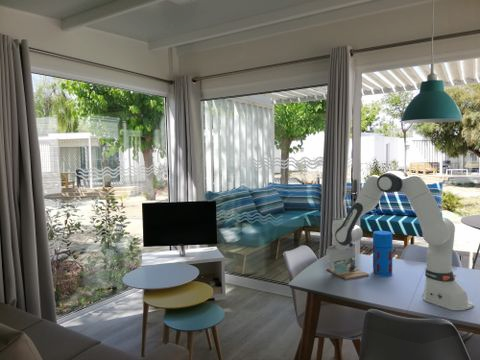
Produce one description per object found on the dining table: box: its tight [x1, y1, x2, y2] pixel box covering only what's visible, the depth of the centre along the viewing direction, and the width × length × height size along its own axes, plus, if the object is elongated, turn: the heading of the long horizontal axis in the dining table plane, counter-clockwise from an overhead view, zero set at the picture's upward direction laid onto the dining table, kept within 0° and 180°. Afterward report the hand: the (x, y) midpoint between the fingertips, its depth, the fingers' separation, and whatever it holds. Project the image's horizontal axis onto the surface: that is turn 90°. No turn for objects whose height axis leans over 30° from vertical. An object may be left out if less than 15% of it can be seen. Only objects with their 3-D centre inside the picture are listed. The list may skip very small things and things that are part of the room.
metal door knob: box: [348, 258, 358, 271], centre depth 228 cm, size 5×5×7 cm
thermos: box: [372, 230, 393, 278], centre depth 223 cm, size 11×11×25 cm
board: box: [326, 264, 370, 281], centre depth 227 cm, size 20×17×2 cm
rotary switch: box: [334, 261, 347, 274], centre depth 225 cm, size 6×6×6 cm
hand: (340, 267), depth 225 cm, fingers open, 8 cm apart
